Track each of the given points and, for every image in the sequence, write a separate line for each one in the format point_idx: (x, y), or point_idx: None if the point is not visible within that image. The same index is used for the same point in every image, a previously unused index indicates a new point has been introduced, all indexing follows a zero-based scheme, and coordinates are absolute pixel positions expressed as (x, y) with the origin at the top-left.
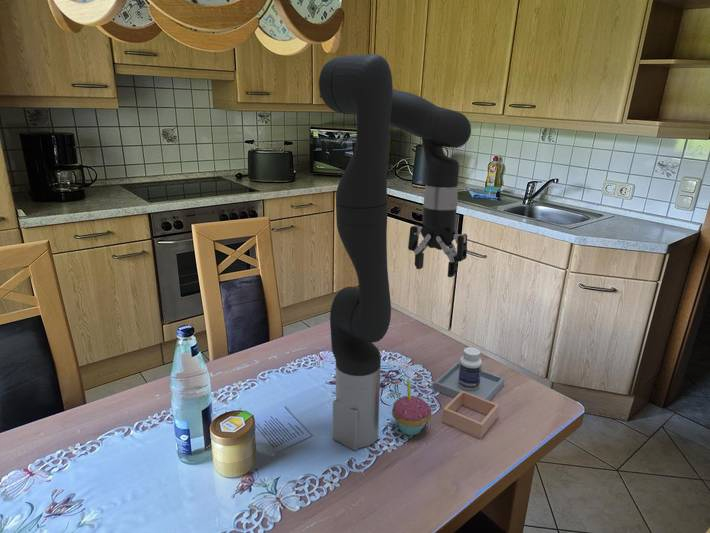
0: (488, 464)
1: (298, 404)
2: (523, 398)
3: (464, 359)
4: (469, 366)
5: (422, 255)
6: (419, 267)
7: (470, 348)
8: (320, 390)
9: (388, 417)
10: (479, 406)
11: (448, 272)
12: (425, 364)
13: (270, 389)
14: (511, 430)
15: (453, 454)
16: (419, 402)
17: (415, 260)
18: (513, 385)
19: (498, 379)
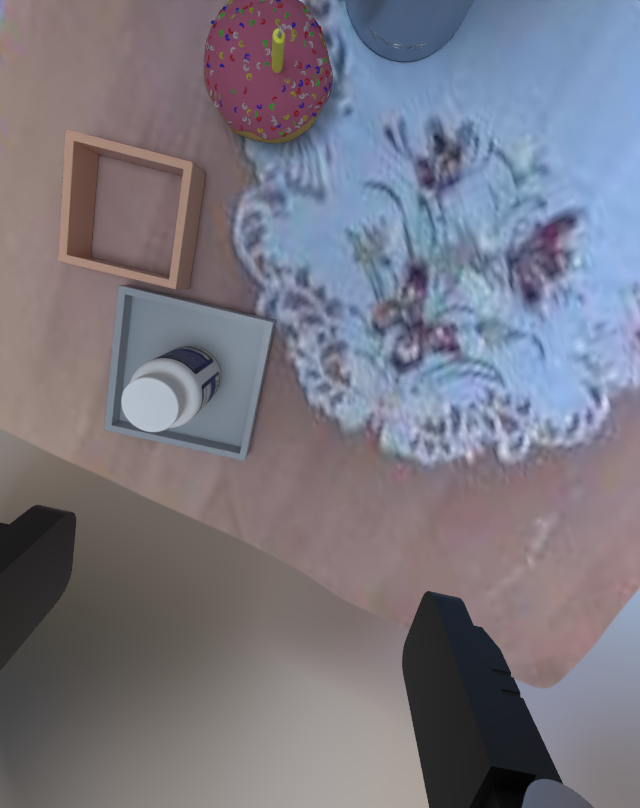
0: (39, 37)
1: (632, 51)
2: (53, 383)
3: (177, 380)
4: (158, 359)
5: (446, 801)
6: (426, 614)
7: (160, 420)
8: (588, 161)
9: (349, 121)
10: (125, 267)
11: (28, 534)
12: (335, 435)
13: None
14: (35, 223)
15: (132, 34)
16: (239, 65)
17: (510, 690)
18: (93, 432)
19: (122, 424)
